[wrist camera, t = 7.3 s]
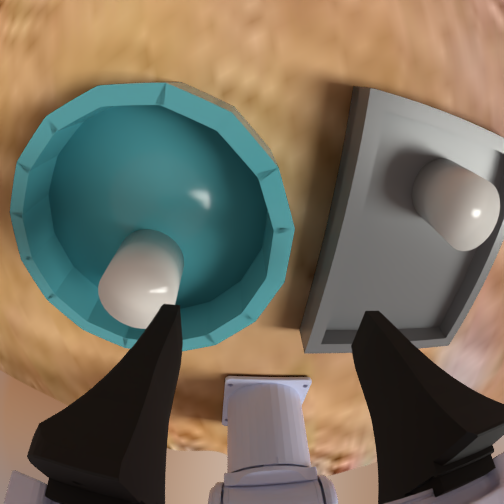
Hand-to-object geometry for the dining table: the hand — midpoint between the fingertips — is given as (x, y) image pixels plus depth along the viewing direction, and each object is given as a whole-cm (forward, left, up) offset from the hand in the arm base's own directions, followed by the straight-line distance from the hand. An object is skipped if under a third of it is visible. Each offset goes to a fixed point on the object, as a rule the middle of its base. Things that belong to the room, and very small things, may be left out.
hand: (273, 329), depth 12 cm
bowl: (0, +7, -9) cm, 11 cm away
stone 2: (+4, -11, -8) cm, 14 cm away
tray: (0, -11, -9) cm, 14 cm away
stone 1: (-3, +7, -8) cm, 11 cm away
